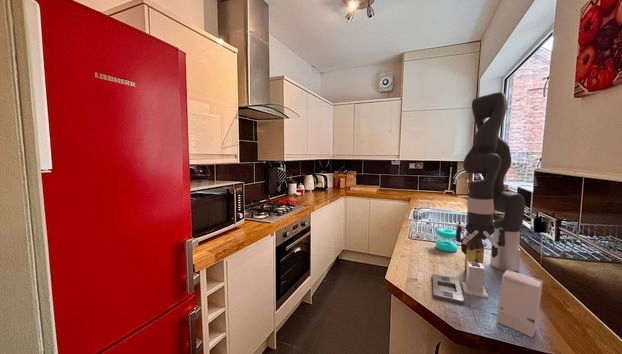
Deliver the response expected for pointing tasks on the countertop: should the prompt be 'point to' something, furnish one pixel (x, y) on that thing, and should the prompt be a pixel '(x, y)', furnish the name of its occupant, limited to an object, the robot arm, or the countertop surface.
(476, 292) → the pad
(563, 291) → the countertop surface
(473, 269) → the square post
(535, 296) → the skincare box
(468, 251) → the sauce bottle
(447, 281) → the rectangular plate with hole
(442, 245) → the donuts
